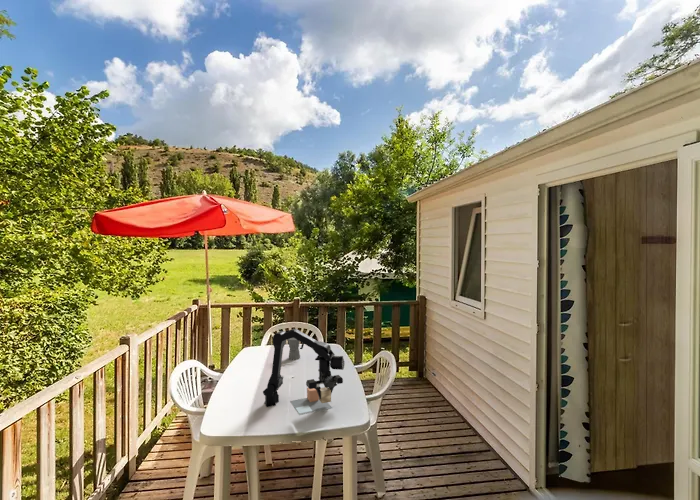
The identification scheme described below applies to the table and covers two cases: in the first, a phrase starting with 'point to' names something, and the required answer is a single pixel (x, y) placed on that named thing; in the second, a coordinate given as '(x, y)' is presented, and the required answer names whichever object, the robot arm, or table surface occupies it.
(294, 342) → the coffeepot
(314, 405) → the board
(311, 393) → the terracotta block
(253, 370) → the table surface
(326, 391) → the maple block
